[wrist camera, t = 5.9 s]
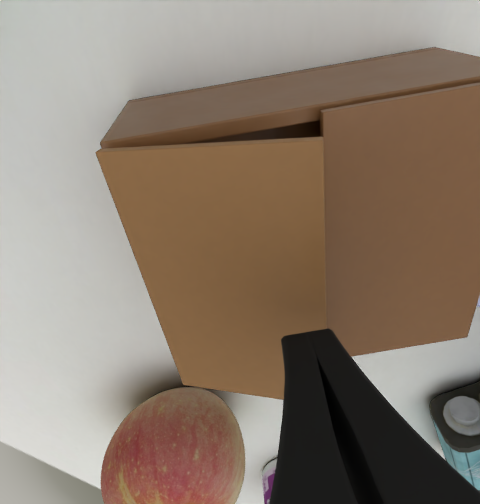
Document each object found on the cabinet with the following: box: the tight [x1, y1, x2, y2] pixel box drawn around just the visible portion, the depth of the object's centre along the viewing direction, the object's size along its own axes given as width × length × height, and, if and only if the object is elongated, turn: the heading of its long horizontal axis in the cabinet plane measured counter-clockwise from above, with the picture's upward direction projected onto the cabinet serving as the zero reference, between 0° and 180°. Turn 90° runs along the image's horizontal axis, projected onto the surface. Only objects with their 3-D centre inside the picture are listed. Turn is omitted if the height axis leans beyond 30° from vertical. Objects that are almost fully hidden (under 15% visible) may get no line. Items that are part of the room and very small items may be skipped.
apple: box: [101, 387, 245, 504], centre depth 24 cm, size 9×9×8 cm
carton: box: [100, 47, 480, 356], centre depth 16 cm, size 13×11×6 cm
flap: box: [96, 137, 327, 400], centre depth 13 cm, size 6×11×1 cm, turn 7°
